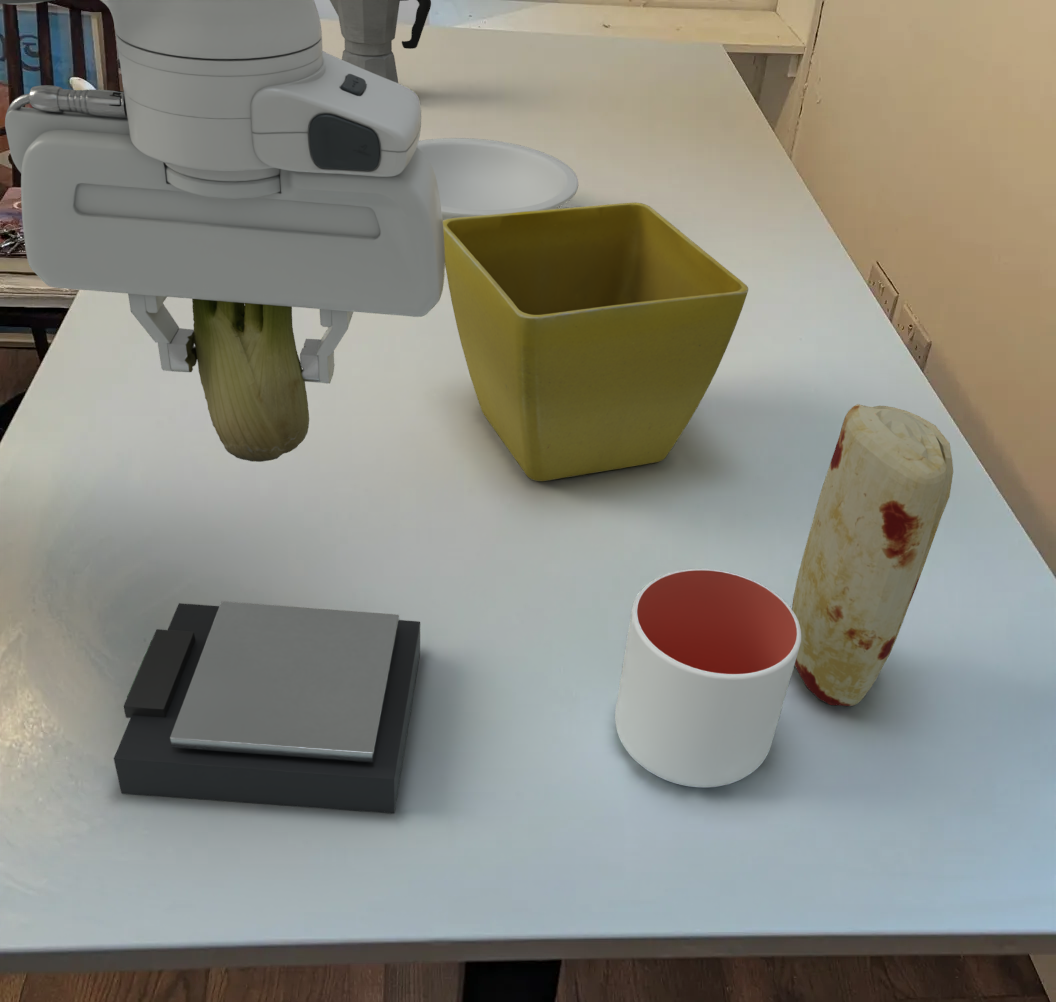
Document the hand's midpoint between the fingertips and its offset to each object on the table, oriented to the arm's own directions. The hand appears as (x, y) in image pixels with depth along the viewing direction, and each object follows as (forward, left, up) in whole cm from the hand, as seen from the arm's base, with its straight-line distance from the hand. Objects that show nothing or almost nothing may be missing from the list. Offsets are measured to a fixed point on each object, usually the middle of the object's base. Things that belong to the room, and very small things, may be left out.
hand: (250, 372), depth 62 cm
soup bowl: (+7, +78, -23) cm, 82 cm away
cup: (+27, -2, -23) cm, 35 cm away
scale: (+1, -3, -23) cm, 23 cm away
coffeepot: (-10, +123, -23) cm, 126 cm away
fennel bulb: (0, 0, -5) cm, 5 cm away
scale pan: (+2, -3, -19) cm, 20 cm away
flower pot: (+19, +34, -23) cm, 45 cm away
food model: (+37, +5, -23) cm, 44 cm away
